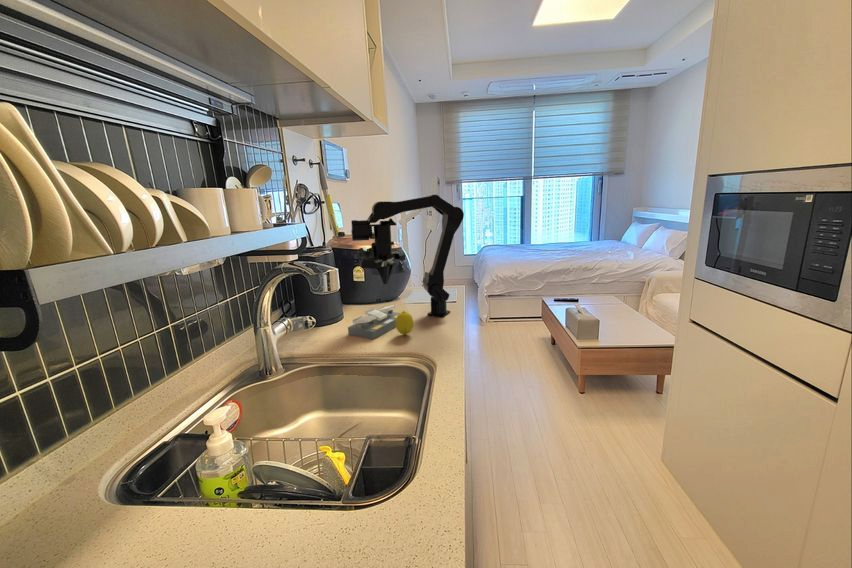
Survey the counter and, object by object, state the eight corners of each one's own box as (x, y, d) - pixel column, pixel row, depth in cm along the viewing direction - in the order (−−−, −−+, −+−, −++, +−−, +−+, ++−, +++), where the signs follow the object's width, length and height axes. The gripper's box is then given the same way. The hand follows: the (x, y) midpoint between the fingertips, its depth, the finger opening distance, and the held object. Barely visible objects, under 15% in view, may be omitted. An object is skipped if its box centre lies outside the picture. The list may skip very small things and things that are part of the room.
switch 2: (382, 310, 130) (381, 307, 130) (396, 307, 127) (395, 304, 126) (375, 313, 127) (374, 310, 126) (389, 310, 123) (388, 307, 123)
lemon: (393, 337, 112) (392, 313, 111) (400, 331, 118) (399, 307, 116) (410, 339, 111) (409, 314, 109) (416, 333, 116) (415, 309, 114)
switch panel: (383, 317, 132) (382, 307, 131) (406, 320, 128) (405, 310, 127) (348, 334, 116) (347, 323, 115) (373, 339, 111) (372, 328, 111)
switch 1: (360, 319, 120) (360, 316, 120) (375, 318, 116) (375, 315, 116) (352, 323, 116) (352, 320, 116) (368, 322, 113) (367, 318, 113)
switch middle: (371, 310, 124) (372, 307, 124) (386, 317, 122) (387, 314, 121) (364, 314, 121) (364, 310, 121) (379, 320, 118) (380, 317, 118)
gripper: (379, 235, 135) (382, 276, 138) (346, 241, 119) (349, 288, 123) (405, 236, 129) (407, 279, 133) (373, 243, 114) (376, 291, 117)
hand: (385, 284), depth 127 cm, fingers closed
